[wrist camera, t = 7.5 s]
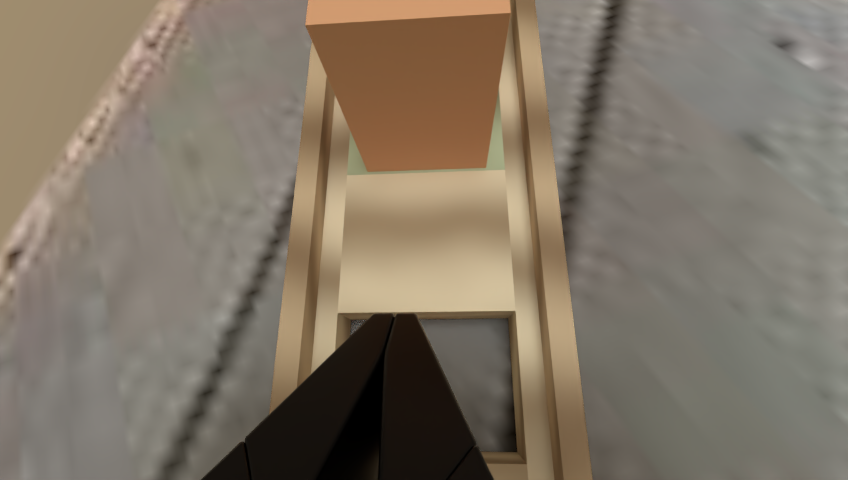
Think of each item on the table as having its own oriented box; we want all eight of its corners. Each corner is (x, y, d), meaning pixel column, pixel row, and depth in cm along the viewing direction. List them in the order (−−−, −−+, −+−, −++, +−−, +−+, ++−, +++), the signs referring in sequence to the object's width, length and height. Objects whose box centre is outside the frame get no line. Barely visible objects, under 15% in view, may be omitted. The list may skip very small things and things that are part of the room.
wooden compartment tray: (564, 478, 17) (595, 507, 14) (299, 473, 18) (259, 500, 14) (514, -22, 27) (524, -86, 23) (342, -10, 28) (324, -70, 24)
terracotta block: (486, 168, 20) (510, 12, 11) (367, 171, 20) (305, 24, 12) (480, 71, 22) (498, -124, 13) (372, 76, 22) (322, -110, 14)
